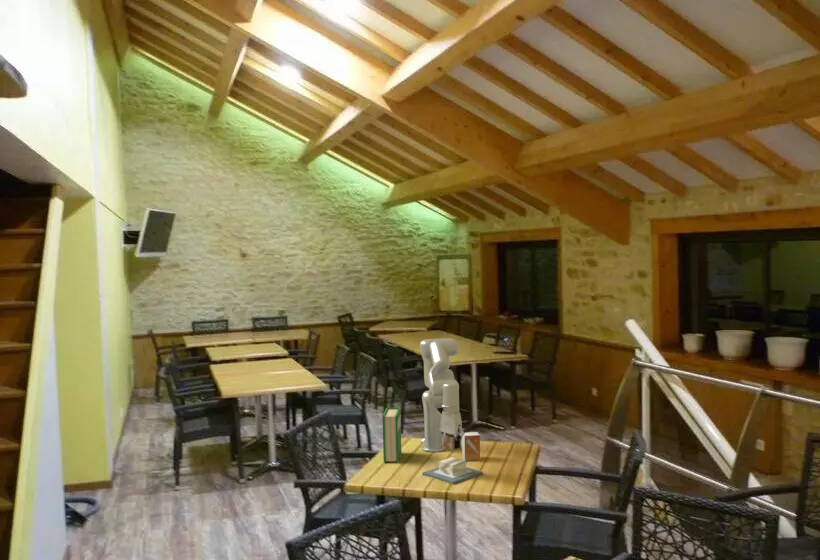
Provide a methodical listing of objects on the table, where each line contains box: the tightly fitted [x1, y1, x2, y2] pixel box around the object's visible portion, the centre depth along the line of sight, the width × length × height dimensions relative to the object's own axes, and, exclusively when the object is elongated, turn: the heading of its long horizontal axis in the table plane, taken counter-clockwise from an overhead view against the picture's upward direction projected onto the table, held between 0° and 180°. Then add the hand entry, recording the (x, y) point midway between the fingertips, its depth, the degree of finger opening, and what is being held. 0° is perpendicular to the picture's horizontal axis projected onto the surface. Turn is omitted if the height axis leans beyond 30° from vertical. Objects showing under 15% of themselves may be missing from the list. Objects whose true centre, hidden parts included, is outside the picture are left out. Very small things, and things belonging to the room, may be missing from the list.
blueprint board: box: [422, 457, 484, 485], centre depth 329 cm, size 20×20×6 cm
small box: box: [461, 431, 481, 462], centre depth 352 cm, size 8×6×13 cm
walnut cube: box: [442, 434, 462, 452], centre depth 328 cm, size 6×6×6 cm
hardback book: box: [382, 407, 402, 463], centre depth 358 cm, size 18×7×24 cm, turn 176°
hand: (452, 446), depth 328 cm, fingers closed on walnut cube, 6 cm apart
